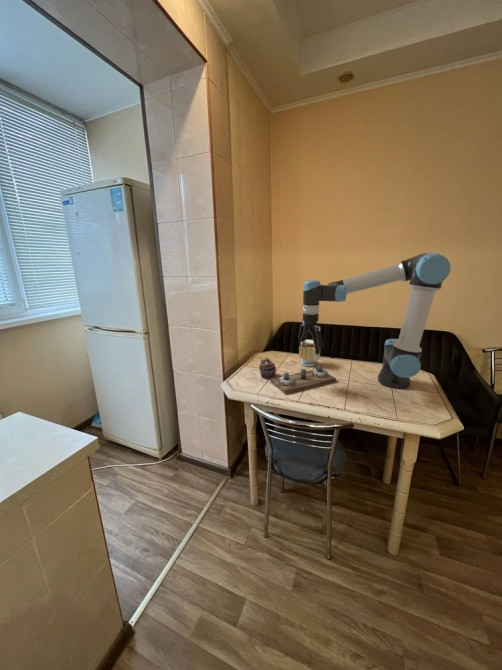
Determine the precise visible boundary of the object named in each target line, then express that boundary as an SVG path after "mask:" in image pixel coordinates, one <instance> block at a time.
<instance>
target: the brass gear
mask: <svg viewBox="0 0 502 670" xmlns="http://www.w3.org/2000/svg"><path fill="white" fill-rule="evenodd" d="M298 347H299V348H298V350H299V352H298V353H299V354H298V358H299V359H300V358H303V360H311V361H313V354H314V347H315V345H314V343H313V344H312V343H306V344H299V346H298ZM320 357H321V351H320V352H319V358H320Z"/></svg>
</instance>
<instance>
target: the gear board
mask: <svg viewBox="0 0 502 670" xmlns="http://www.w3.org/2000/svg"><path fill="white" fill-rule="evenodd" d="M336 382H337V378H336V377H335V376H333V375H331V374H329V373H328V371H327V370H325V369H324V368H323V365H321V364H320V365H319V364H315V368H313V369H309V370H307V369H306V368H301V369H300V372H298V373H292V374H289V372H284V373H283V375H282V376H279V377H274V378H271V379H270V383H271V384H272V385H273V386H275V387H276V388H277V389H278V390H279V391H281V392H282V393H283V394H284V395H289V394H293V393H297V392H300V391H304V390H308V389H311V388H315V387H320V386H324V385H327V384H332V383H336Z"/></svg>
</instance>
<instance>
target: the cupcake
mask: <svg viewBox="0 0 502 670" xmlns="http://www.w3.org/2000/svg"><path fill="white" fill-rule="evenodd" d="M258 369H259V371H260V372H259V373H260V376H261V378H262V379H265V380H269V379H270V380H271V379H274V378H276V372H277V367H276V364H275V363H274V362H273V361H272V360H271V359H268V358H265V359H261V360H260V363H259V367H258Z"/></svg>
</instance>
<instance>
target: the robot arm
mask: <svg viewBox="0 0 502 670" xmlns="http://www.w3.org/2000/svg"><path fill="white" fill-rule="evenodd" d="M451 268H452V267H451V263H450V260H448V258H447V257H446V256H444V255H442V254H440V253H436V252H433V253H432V252H430V253H420V254H417V255H414V256H412V257H410V258H407V259H404V260H401V261H398V263H397V264H394V265H391V266H387V267H384V268H380V269H375V270H372V271H369V272H365V273H362V274H359V275H355V276H351V277H348V278H344V279H340V280H337V281H332V282H329V283H327V284H321V281H320V280H317V279H316V280H314V279H313V280H312V279H311V280H305V281H304V282H303V291H302V292H303V293H302V301H303V302H302V321H300V322H299V328H298V329H299V330H298V335H297V339H298V340H299V342H300V344H306V340H307V336H308V334H310V336H311V338H312V339H311V340H313V342H314V345H315V347H314V354H313V360H314V361H315V360H316V361H318V360H320V357H319V352H320V353H321V348H323V347H324V342H323V335H322V326H321V325H320V326H319V325H318V324H317V323H318V322H319V319H320V317H319V316H320V314H319V313H320V302H336V303H339V302H342V303H343V302H345V301H347V295H349V294H352V293H357V292H360V291H364V290H367V289H368V290H369V289H373V288H376V287H380V286H385V285H387V284H391V283H396V282H400V281H401V282H404V283H405V282H407V281H409V283H408V284H409V286H410V289H411V291H410V295H409V300H408V301H407V306H406V310H405V313H404V317H403V321H402V324H401V328H400V333H399V336H398V338H388V339H386V340H385V342H384V351H383V360H382V367H381V370H379V373H378V376H377V382H378V383H379V384H380V385H382V386H385V387H387V388H391V389H398V390H399V389H400V390H401V389H407V388H409V387H410V386H411V383H412V381H411V378H412V377H414V376H416V375H417V374H418V373H419V372H420V370H421V367H422V366H421V361H420V360H421V359H420V358H421V356H422V355H421V354H422V351H423V349H422V347H421V346H420V344H421V341H422V338H423V333H424V331H425V327H426V325H427V320H428V317H429V313H430V311H431V308H432V304H433V300H434V297H435V294H436V292H438V291H439V290H441V288H442V284H443V282H444V281H445V280H446V279H447V278H448V277H449V276H450V272H451ZM300 344H299V345H300Z"/></svg>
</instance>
